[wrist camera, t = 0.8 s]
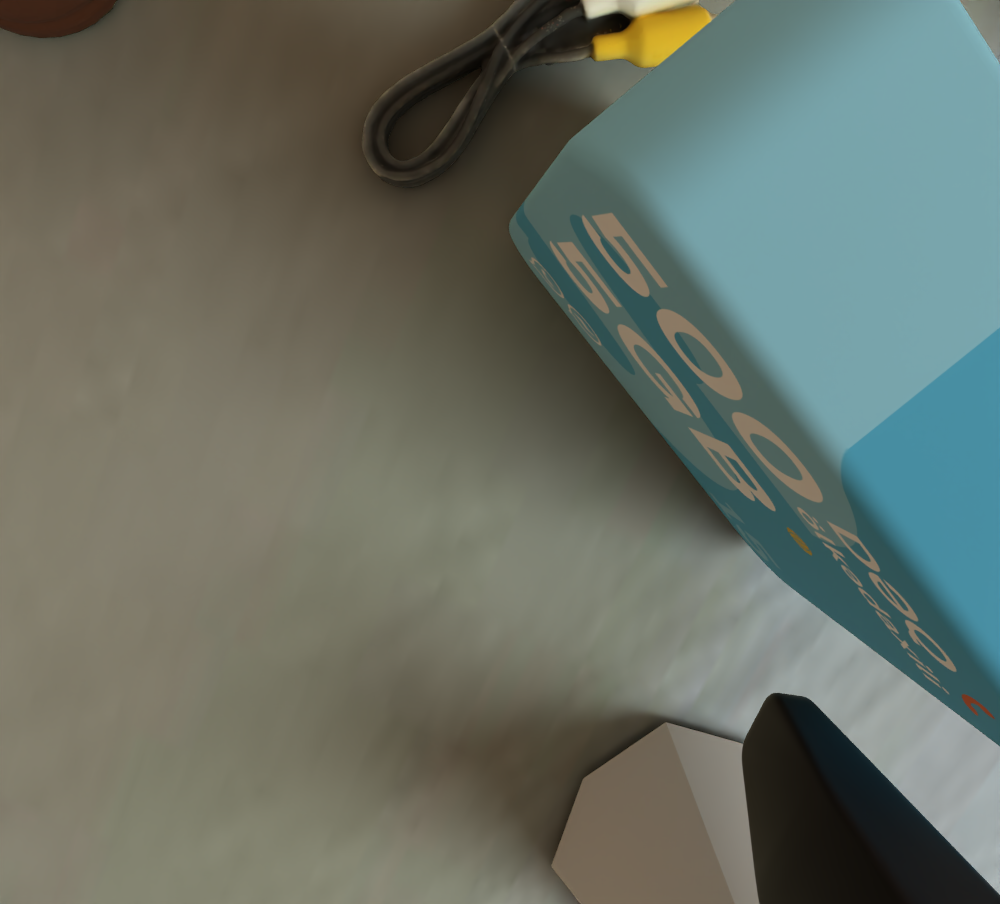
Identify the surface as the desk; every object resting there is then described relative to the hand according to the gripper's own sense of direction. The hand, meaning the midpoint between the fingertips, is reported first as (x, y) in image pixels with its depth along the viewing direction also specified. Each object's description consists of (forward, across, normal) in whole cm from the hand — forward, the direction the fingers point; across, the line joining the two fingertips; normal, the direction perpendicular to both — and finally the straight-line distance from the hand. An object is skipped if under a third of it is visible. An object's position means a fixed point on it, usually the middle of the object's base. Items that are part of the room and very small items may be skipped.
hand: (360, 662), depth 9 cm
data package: (+14, -7, +2) cm, 16 cm away
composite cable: (+17, -1, -5) cm, 17 cm away
